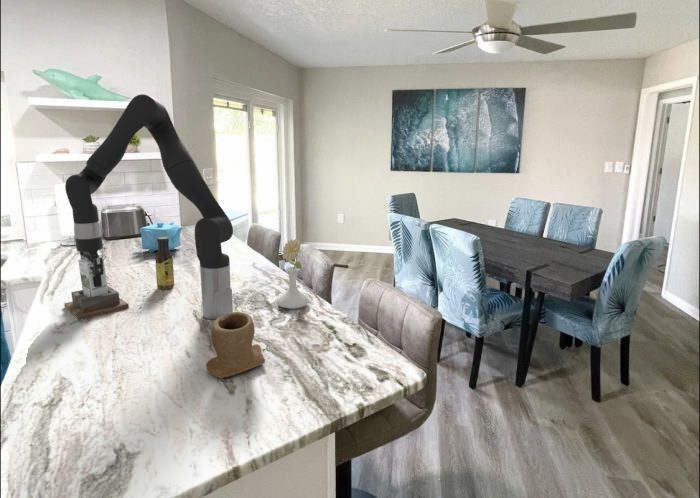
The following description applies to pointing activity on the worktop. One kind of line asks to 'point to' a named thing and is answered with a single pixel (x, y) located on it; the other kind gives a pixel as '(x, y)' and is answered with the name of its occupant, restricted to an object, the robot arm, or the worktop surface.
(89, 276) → the syrup box
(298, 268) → the flower in vase
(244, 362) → the stone cup
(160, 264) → the sauce bottle
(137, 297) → the worktop surface
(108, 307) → the socket holder
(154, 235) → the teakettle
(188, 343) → the worktop surface
